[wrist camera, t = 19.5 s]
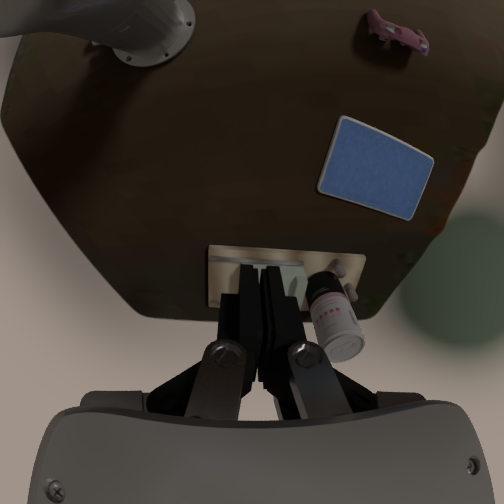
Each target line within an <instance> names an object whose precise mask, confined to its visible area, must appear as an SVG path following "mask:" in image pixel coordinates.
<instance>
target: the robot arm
mask: <svg viewBox="0 0 504 504" xmlns="http://www.w3.org/2000/svg"><path fill="white" fill-rule="evenodd" d="M189 24H192V25H191V26H189ZM195 27H196V15H195V12H194V10H193V8H192V6H191V5H190V3H189V2H188V1H187V0H175V1H174V0H0V38H3V37H11V36H18V35H24V34H30V33H37V32H54V33H61V34H66V35H71V36H75V37H79V38H82V39H86V40H89V41H92V45H93V46H97V45H102V44H103V45H106V46H109V47H112V49H113V51H114V53H115V55H116V56H117V57H118V58H119V59H120V60H121V61H123V62H124V63H126V64H129V65H132V66H136V67H150V66H155V65H159V64H162V63H164V62H166V61H168V60H170V59H172V58H173V57H175V56H176V55H177V54H179V53H180V52H181V51H182V50H183V49H184V48H185V47H186V46H187V44H188V43H189V41H190V40H191V38H192V36H193V34H194V31H195ZM167 54H169V55H168V57H166V55H167ZM131 58H132V59H131ZM130 59H131V61H130ZM257 367H258V381H259V382H263V387H264V389H267V391H268V392H269V393H271V394H272V395H273V396H274V403H275V407H276V411H277V414H278V418H279V420H278V421H238V415H239V409H240V403H241V398H243V397H244V396H245V395H246V394H247V393H249V392H250V391H251V387H252V382H255V378H256V372H257ZM27 504H495V500H494V493H493V488H492V483H491V478H490V475H489V470H488V467H487V463H486V460H485V457H484V453H483V450H482V447H481V444H480V441H479V439H478V436H477V434H476V431H475V429H474V427H473V425H472V423H471V421H470V419H469V417H468V415H467V414H466V413H465V411H464V410H463V409H462V408H461V407H460V406H458V405H457V404H454V403H451V402H447V401H440V400H426V399H425V398H424V397H423V396H422V395H420V394H419V393H409V392H408V393H406V392H380V391H377V393H376V394H375V393H372V392H371V391H369V390H368V389H367V388H365V387H363V386H362V385H360V384H358V383H357V382H355V381H353V380H351V379H350V378H349V377H347V376H345V375H344V374H342V373H340V372H339V371H337V370H336V369H334V368H333V367H332V365H331V363H330V361H329V359H328V357H327V355H326V353H325V351H324V350H323V348H322V347H320V346H319V345H318V344H315V343H314V342H310V341H307V339H306V335H305V331H304V326H303V322H302V318H301V313H300V309H299V305H298V301H297V298H296V297H295V296H285V291H284V286H283V281H282V276H281V271H280V267H279V266H268V265H267V266H266V269H261V275H260V283H259V275H258V268H253V265H250V264H240V275H239V288H238V294H230V293H221V299H220V310H219V321H218V334H217V340H216V341H214V342H211V343H210V344H209V345H208V346H207V347H206V349H205V351H204V354H203V357H202V360H201V361H200V362H198V363H196V364H195V365H193V366H192V367H190V368H189V369H187V370H186V371H184V372H182V373H181V374H179V375H177V376H176V377H174V378H172V379H171V380H169V381H167V382H166V383H164V384H162V385H161V386H159V387H157V388H156V389H154V390H153V391H152V392H150V393H142V391H91V392H89V393H87V394H85V395H84V397H83V398H82V399H81V403H80V406H78V407H72V408H69V409H65V410H63V411H61V412H59V413H58V414H57V415H55V416H54V418H53V419H52V420H51V422H50V423H49V425H48V427H47V429H46V431H45V433H44V436H43V438H42V441H41V444H40V446H39V449H38V453H37V457H36V460H35V463H34V467H33V472H32V477H31V483H30V488H29V495H28V502H27Z"/></svg>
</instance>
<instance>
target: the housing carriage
mask: <svg viewBox="0 0 504 504" xmlns="http://www.w3.org/2000/svg"><path fill="white" fill-rule="evenodd" d="M242 264H250V265H253V268H258V275H259V283H260V275H261V269H266V266H267V265H268V266H279V267H280V271H281V276H282V281H283V286H284V291H285V296H295V297H296V298H297V301H298V305H299V309H300V311H301V307H302V303H303V299H304V296H305V292H306V288H307V284H308V280H307V277H306V274H305V271H304V268H303V266H296V265H277V264H260V263H243V262H242Z"/></svg>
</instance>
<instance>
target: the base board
mask: <svg viewBox="0 0 504 504" xmlns="http://www.w3.org/2000/svg"><path fill="white" fill-rule="evenodd" d="M365 260H366V257H365V256H364V255H360V254H345V253H330V252H314V251H299V250H283V249H268V248H252V247H236V246H219V245H209V252H208V287H209V307H219V308H220V299H221V293H230V294H238V288H239V275H240V264H242V262H243V263H260V264H277V265H296V266H303V268H304V271H305V274H306V277H307V279H308V278H309V277H310V276H312V275H313V274H315V273H317V272H321V271H329V272H332V273H334V274H335V275H337V277H338V279H339V281H340V283H341V285H342V287H343V289H344V292H345V294H346V296H347V298H348V300H349V303H350V302H354V301H356V300H357V299H358V296H357V294H356V292H355V289H356V286H357V283H358V281H359V278H360V275H361V272H362V269H363V266H364V263H365ZM301 311H310V310H309V307H308V303H307V300H306V296H304V299H303V303H302V307H301Z"/></svg>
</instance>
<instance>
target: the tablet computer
mask: <svg viewBox="0 0 504 504" xmlns="http://www.w3.org/2000/svg"><path fill="white" fill-rule="evenodd" d="M433 164H434V160H433V158H432V157H431V156H429V155H427V154H426V153H424V152H422V151H420V150H418V149H416V148H415V147H413V146H411V145H409V144H407V143H405V142H403V141H401V140H399V139H397V138H395V137H393V136H391V135H389V134H387V133H385V132H383V131H380V130H378V129H376V128H374V127H372V126H369V125H367V124H364V123H362V122H360V121H357V120H355V119H352V118H350V117H347V116H341V117H340V118H339V119H338V122H337V125H336V128H335V131H334V134H333V138H332V141H331V144H330V147H329V150H328V153H327V156H326V159H325V162H324V165H323V168H322V171H321V175H320V178H319V181H318V184H317V190H318V191H319V192H320V193H323V194H326V195H330V196H333V197H336V198H340V199H343V200H346V201H350V202H353V203H356V204H359V205H362V206H365V207H368V208H372V209H375V210H378V211H381V212H383V213H386V214H389V215H392V216H395V217H398V218H401V219H404V220H407V221H408V220H410V219H411V218H412V216H413V214H414V212H415V210H416V207H417V205H418V203H419V200H420V198H421V195H422V193H423V191H424V188H425V186H426V183H427V180H428V178H429V175H430V172H431V170H432V167H433Z"/></svg>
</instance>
